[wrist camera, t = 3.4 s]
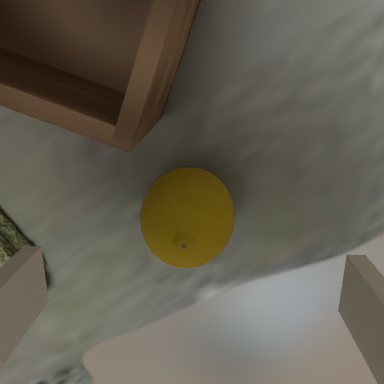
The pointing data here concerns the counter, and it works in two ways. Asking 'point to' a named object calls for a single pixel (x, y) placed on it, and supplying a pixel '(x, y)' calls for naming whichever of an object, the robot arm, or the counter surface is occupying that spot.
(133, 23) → the box
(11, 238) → the washcloth
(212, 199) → the lemon
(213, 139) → the counter surface
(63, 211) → the counter surface
